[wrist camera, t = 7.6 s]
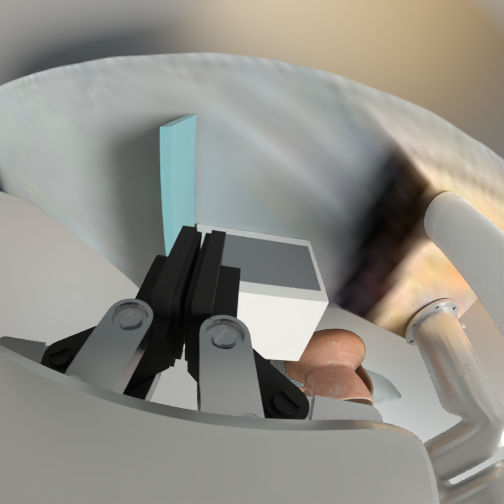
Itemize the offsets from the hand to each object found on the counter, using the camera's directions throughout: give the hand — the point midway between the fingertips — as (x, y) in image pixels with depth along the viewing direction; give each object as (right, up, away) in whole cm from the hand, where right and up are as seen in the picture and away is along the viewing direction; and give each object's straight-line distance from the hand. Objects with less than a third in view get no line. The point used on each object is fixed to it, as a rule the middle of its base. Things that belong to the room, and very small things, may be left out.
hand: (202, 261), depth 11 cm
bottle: (+29, +6, +21) cm, 37 cm away
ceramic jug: (+15, -17, +36) cm, 43 cm away
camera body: (+1, -1, +25) cm, 26 cm away
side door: (-5, +9, +18) cm, 20 cm away
